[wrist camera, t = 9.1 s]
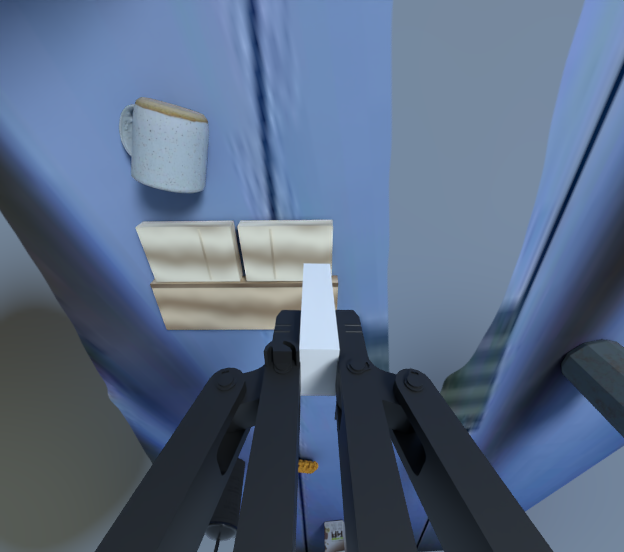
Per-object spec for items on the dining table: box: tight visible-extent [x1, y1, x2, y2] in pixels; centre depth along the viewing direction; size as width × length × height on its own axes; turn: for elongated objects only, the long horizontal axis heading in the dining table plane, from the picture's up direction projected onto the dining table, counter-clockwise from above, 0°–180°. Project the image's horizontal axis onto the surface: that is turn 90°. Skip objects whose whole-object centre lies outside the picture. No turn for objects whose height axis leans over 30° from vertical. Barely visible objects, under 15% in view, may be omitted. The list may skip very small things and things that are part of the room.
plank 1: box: [135, 221, 243, 282], centre depth 40 cm, size 9×12×2 cm
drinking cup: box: [205, 458, 245, 552], centre depth 62 cm, size 8×8×20 cm
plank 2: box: [237, 220, 333, 281], centre depth 40 cm, size 9×12×2 cm
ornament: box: [298, 460, 318, 474], centre depth 67 cm, size 7×10×15 cm
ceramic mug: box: [119, 97, 209, 193], centre depth 30 cm, size 11×8×8 cm
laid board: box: [150, 276, 338, 330], centre depth 45 cm, size 9×28×2 cm, turn 91°
